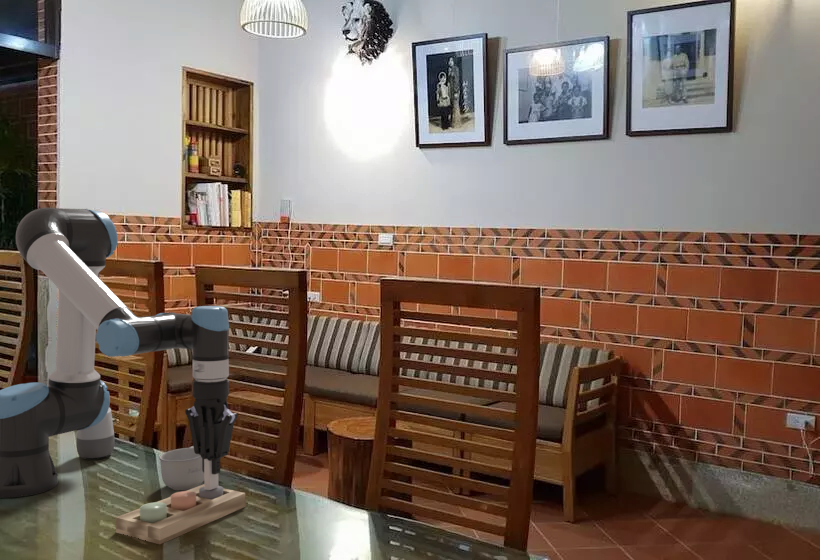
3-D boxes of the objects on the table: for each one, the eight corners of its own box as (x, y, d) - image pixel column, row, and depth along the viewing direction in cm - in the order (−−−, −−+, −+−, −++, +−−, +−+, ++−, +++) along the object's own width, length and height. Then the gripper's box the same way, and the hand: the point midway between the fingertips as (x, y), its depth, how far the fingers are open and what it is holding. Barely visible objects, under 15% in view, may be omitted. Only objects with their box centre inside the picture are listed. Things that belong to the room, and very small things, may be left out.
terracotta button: (165, 510, 157) (165, 496, 157) (183, 503, 161) (183, 489, 161) (183, 515, 154) (183, 500, 154) (201, 507, 159) (201, 493, 159)
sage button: (134, 523, 150) (134, 508, 150) (154, 515, 154) (154, 500, 154) (152, 528, 147) (152, 512, 147) (172, 519, 152) (172, 505, 152)
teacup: (194, 495, 173) (194, 460, 172) (150, 492, 175) (150, 457, 174) (221, 477, 186) (221, 444, 186) (180, 474, 188) (180, 442, 188)
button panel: (115, 532, 150) (115, 517, 150) (203, 497, 171) (203, 484, 171) (159, 544, 145) (159, 528, 144) (245, 506, 166) (245, 493, 165)
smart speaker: (97, 463, 197) (97, 409, 197) (68, 459, 200) (67, 406, 200) (122, 453, 206) (121, 401, 206) (93, 450, 209) (93, 399, 209)
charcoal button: (194, 504, 164) (194, 490, 164) (210, 497, 168) (210, 484, 168) (211, 508, 162) (211, 494, 161) (228, 501, 166) (228, 487, 166)
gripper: (175, 378, 163) (176, 488, 165) (221, 384, 157) (222, 498, 158) (200, 373, 170) (201, 478, 171) (246, 378, 164) (246, 488, 165)
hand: (211, 487), depth 165 cm, fingers closed
